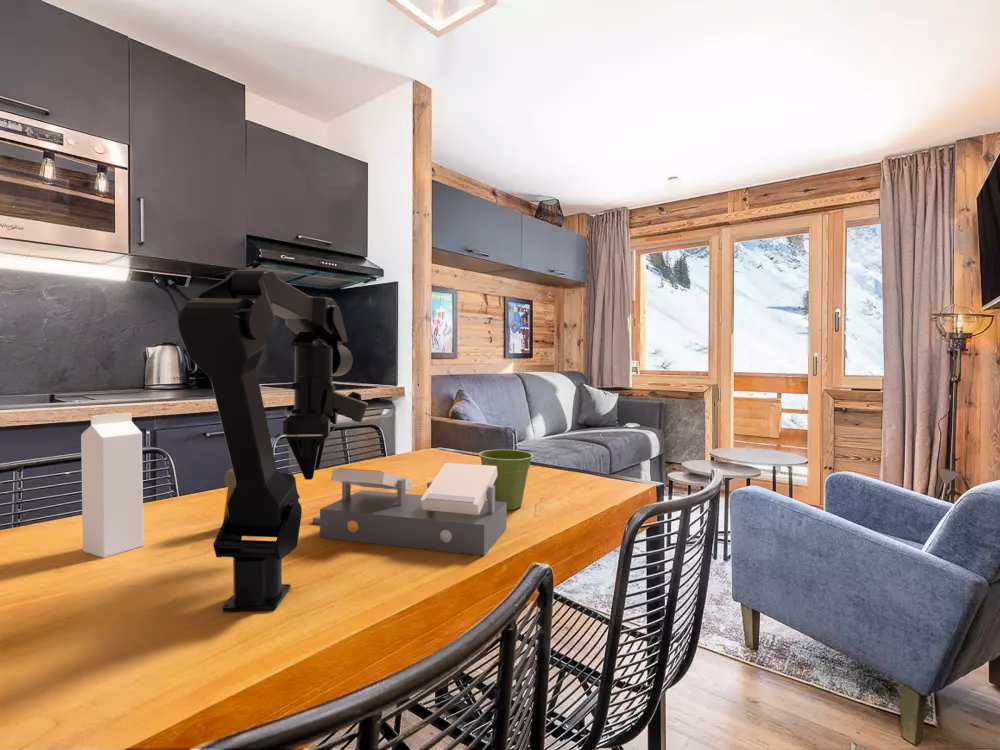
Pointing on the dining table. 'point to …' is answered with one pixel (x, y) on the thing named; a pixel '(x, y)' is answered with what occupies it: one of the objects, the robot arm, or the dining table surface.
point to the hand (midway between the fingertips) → (312, 473)
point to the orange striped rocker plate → (368, 478)
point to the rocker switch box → (411, 522)
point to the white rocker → (459, 488)
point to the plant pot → (508, 474)
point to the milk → (112, 485)
